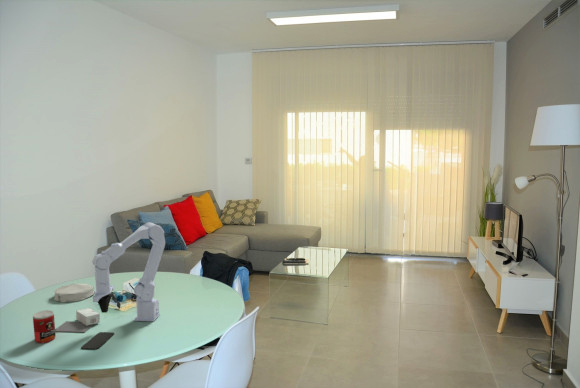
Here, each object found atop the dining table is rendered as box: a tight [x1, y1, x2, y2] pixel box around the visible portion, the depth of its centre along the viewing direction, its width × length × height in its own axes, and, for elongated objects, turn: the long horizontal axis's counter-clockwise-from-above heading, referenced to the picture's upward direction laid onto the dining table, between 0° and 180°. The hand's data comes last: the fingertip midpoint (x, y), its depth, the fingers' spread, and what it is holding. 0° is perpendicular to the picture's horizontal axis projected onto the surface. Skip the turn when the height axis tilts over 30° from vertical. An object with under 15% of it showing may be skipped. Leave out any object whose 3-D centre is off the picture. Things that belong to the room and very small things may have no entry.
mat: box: [55, 320, 95, 334], centre depth 199 cm, size 14×10×1 cm
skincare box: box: [75, 307, 101, 326], centre depth 205 cm, size 6×4×12 cm
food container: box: [53, 283, 96, 303], centre depth 238 cm, size 20×20×7 cm
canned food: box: [32, 310, 56, 344], centre depth 187 cm, size 8×8×11 cm
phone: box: [80, 331, 115, 351], centre depth 186 cm, size 7×1×15 cm
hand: (104, 311), depth 197 cm, fingers closed
